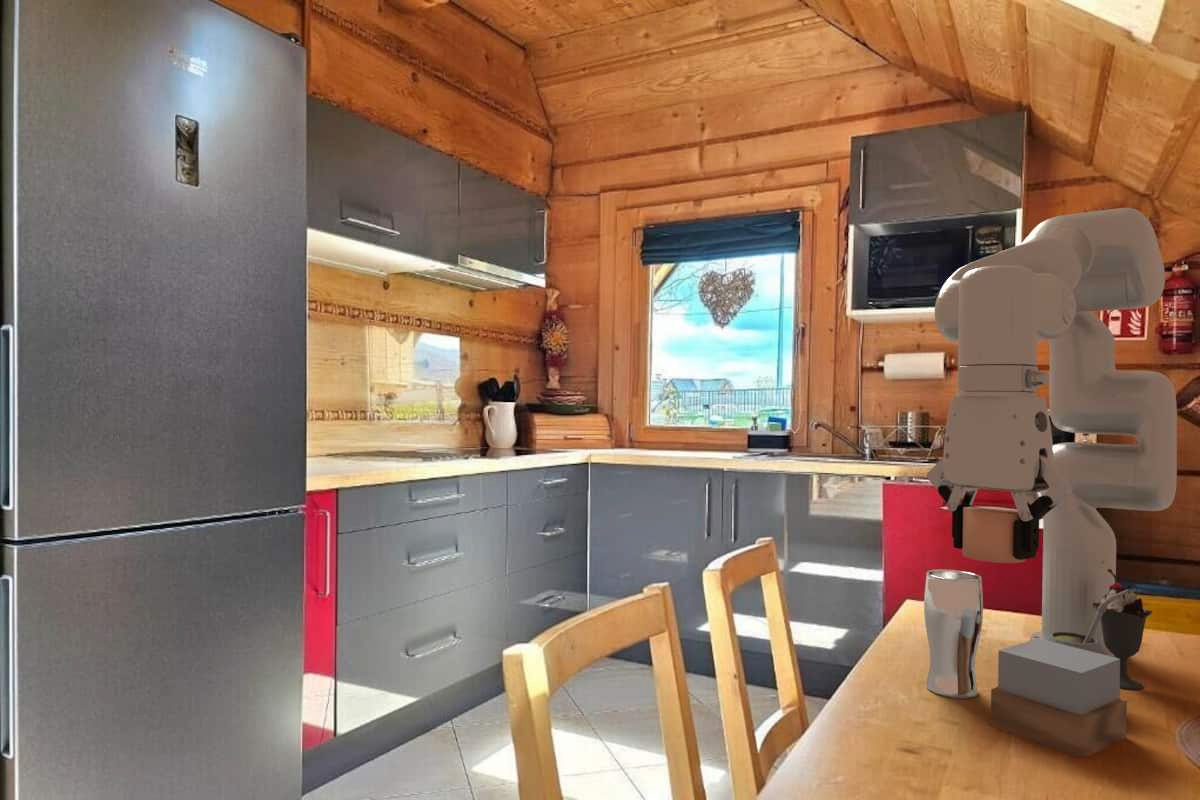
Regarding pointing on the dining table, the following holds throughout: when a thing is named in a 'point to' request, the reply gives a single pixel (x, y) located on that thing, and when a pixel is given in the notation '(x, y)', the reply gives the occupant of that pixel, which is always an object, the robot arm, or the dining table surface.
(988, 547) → the peach rounded cylinder
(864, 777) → the dining table surface
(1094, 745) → the walnut base block
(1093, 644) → the mate gourd
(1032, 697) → the slate top block
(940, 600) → the beer glass
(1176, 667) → the dining table surface
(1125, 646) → the sundae
